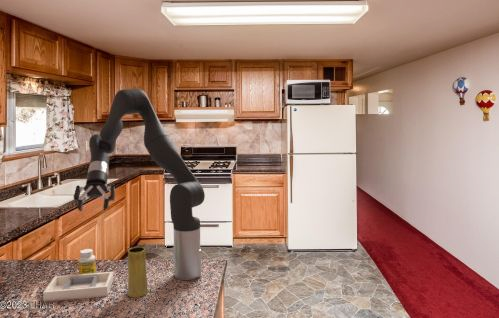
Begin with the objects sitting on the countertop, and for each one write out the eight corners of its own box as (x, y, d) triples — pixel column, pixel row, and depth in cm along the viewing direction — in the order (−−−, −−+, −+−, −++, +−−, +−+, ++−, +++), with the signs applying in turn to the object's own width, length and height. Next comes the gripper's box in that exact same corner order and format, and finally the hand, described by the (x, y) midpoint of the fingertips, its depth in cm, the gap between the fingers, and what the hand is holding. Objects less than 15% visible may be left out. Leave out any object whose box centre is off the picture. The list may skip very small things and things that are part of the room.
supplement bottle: (94, 272, 123) (93, 246, 122) (97, 278, 119) (96, 251, 118) (78, 276, 120) (76, 249, 119) (80, 282, 116) (79, 254, 115)
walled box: (113, 280, 117) (113, 271, 117) (107, 295, 107) (107, 286, 106) (55, 285, 113) (55, 276, 113) (43, 302, 103) (43, 292, 102)
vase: (151, 290, 111) (150, 247, 109) (139, 299, 105) (138, 254, 103) (135, 287, 113) (134, 245, 111) (123, 295, 107) (121, 251, 105)
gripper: (76, 169, 134) (69, 205, 124) (115, 168, 137) (111, 203, 127) (80, 180, 140) (74, 215, 130) (117, 179, 143) (114, 214, 133)
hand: (92, 209), depth 128 cm, fingers open, 8 cm apart
